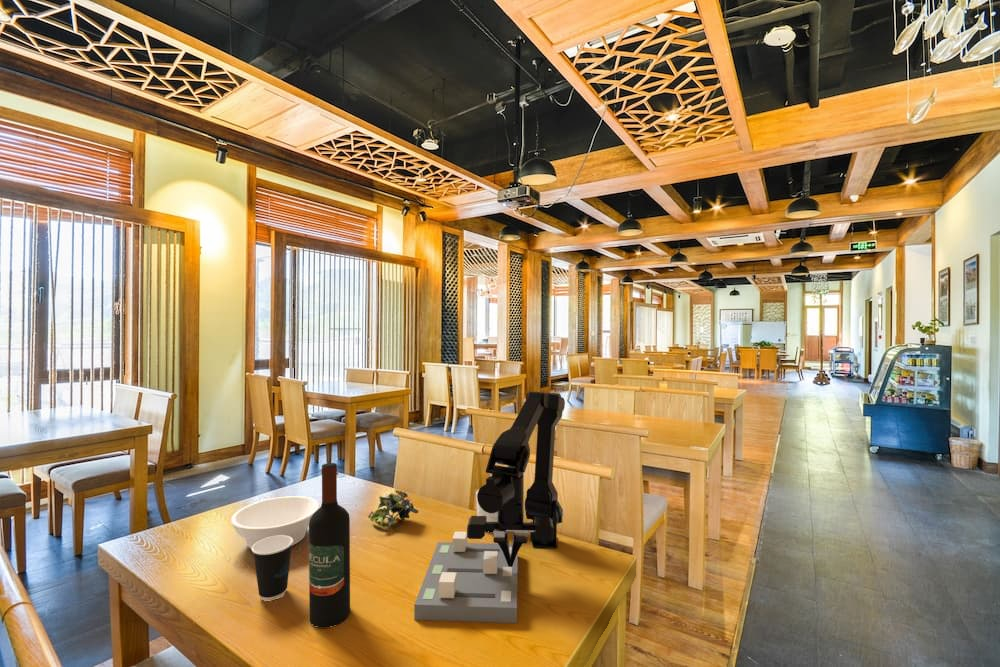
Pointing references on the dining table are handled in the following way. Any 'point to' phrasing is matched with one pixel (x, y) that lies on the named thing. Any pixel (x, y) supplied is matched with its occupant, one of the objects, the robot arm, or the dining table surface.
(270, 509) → the bowl
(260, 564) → the dixie cup
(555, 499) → the robot arm
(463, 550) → the block
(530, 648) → the dining table surface
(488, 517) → the white cup
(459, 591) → the grey slider switch panel
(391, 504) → the green leafy clump
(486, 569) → the block
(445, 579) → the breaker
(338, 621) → the wine bottle
